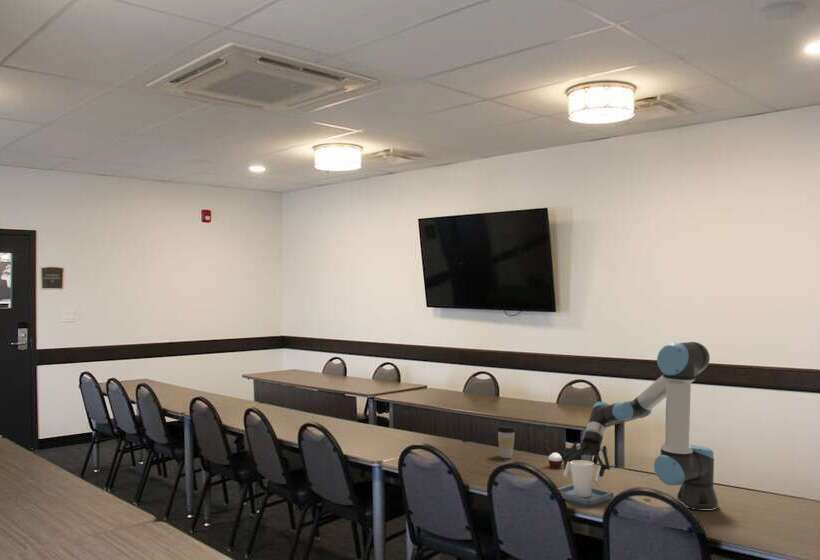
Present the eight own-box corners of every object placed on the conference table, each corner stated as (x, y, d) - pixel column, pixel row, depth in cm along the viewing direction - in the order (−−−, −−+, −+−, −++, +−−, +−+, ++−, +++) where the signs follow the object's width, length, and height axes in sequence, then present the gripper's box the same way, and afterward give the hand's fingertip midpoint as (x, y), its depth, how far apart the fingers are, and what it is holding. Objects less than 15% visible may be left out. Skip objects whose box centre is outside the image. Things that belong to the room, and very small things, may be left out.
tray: (613, 499, 276) (613, 493, 276) (589, 507, 266) (589, 501, 266) (576, 488, 290) (576, 482, 290) (552, 496, 280) (552, 490, 280)
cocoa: (566, 468, 322) (567, 443, 322) (557, 470, 318) (559, 444, 318) (550, 463, 329) (551, 438, 329) (541, 465, 325) (543, 440, 325)
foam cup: (592, 491, 282) (591, 460, 283) (596, 498, 273) (595, 465, 273) (569, 491, 283) (568, 460, 283) (572, 497, 274) (571, 465, 274)
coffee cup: (495, 458, 338) (495, 428, 338) (498, 453, 347) (498, 424, 347) (514, 459, 336) (514, 429, 336) (517, 455, 345) (517, 425, 345)
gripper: (625, 444, 283) (612, 490, 271) (568, 436, 298) (554, 479, 285) (621, 434, 279) (608, 480, 267) (563, 426, 293) (549, 469, 281)
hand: (580, 479), depth 276 cm, fingers open, 13 cm apart
